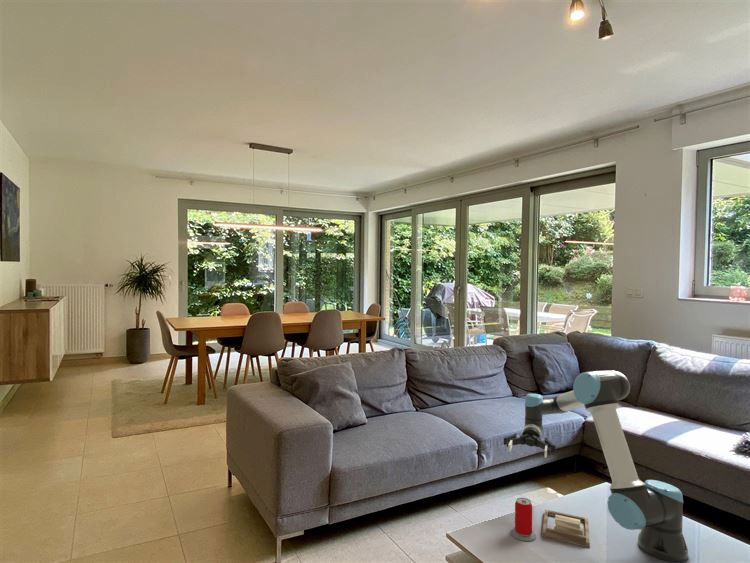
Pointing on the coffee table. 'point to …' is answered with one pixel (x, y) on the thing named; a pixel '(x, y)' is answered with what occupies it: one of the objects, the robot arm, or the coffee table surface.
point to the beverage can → (523, 516)
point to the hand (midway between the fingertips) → (527, 451)
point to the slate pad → (523, 538)
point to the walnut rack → (566, 535)
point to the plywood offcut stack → (568, 525)
